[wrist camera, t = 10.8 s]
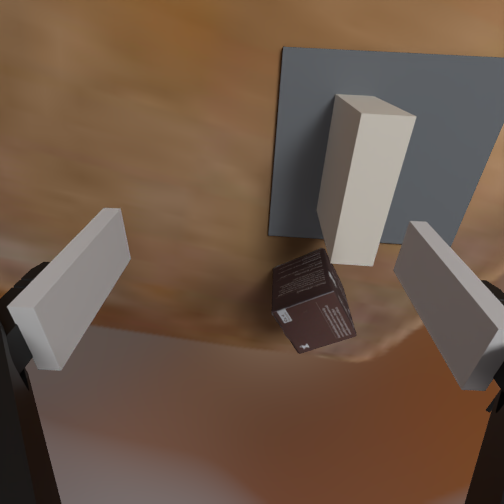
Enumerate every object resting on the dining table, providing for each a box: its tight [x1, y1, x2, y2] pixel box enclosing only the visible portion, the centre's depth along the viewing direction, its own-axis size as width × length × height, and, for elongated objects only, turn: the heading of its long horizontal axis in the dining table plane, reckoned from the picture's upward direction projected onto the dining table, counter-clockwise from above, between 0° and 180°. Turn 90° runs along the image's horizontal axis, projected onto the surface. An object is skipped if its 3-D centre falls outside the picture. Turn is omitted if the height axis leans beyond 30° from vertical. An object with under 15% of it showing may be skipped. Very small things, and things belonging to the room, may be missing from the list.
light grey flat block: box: [317, 94, 417, 266], centre depth 24 cm, size 3×10×9 cm, turn 177°
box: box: [271, 248, 356, 354], centre depth 33 cm, size 6×6×7 cm
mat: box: [268, 47, 504, 247], centre depth 28 cm, size 18×16×1 cm
